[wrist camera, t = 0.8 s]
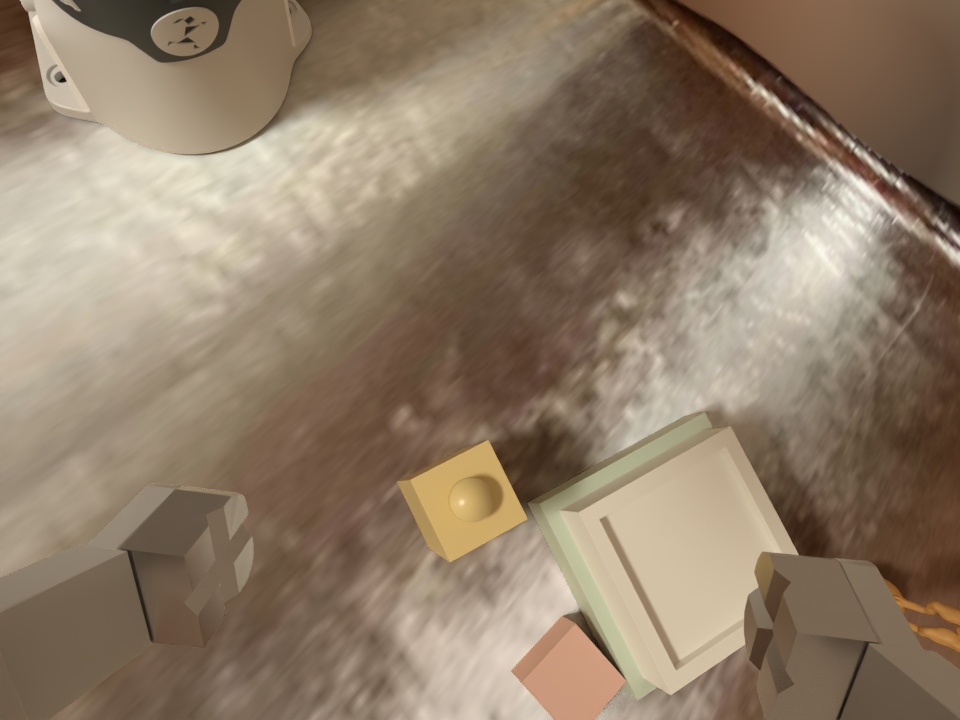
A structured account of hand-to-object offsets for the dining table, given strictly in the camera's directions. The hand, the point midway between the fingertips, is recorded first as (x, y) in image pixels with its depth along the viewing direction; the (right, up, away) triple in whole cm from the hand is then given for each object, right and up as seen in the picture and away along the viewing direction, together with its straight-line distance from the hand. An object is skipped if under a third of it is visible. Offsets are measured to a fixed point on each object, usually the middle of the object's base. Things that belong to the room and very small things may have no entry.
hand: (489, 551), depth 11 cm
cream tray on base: (+12, -10, +38) cm, 41 cm away
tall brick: (-3, -6, +36) cm, 36 cm away
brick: (+5, -18, +35) cm, 40 cm away
